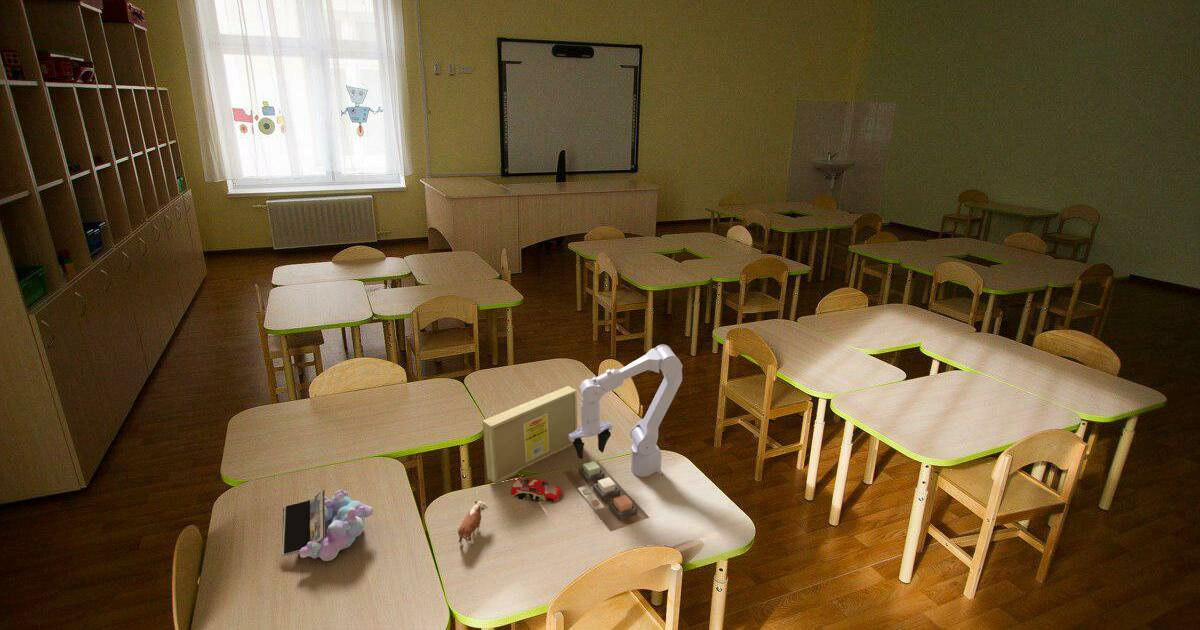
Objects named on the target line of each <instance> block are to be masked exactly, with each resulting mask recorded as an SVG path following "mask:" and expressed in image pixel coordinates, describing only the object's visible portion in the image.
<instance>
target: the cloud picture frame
mask: <svg viewBox="0 0 1200 630" xmlns="http://www.w3.org/2000/svg"><path fill="white" fill-rule="evenodd" d="M325 490H326V489H325V487H324V488H322V489H321V490H320V491H317V493H316V494H314V495H313V496H312V497H311V498H310V499H308V500H304V501H300V502H296V503H291V504H287V505H283V506H282V507H281V508H282V509H281V544H280V545H281V550H280V551H281V552H280V553H281V554H280V555H281V556H280V557H281V558H285V557H289V556H293V555H297V554H299V556H300V558H303V559H304V558H308V557H311V558H312V559H317V558H320V559H321V560H322V561H324V562H328V561H329V562H330V561H333V559H335V558H336V557H337V556H338V554H339V552H340V551H342V550H344V549H347V548H350V547H351V545H352V544H353V543H354V541H355V540H356V538H357V537H359V536H360V535H361V534H362V533H363V531H364V530H365V525H366V523H365V521H366V520H365V519H366V518H369V517H370V516H372V515H373V513H374V508H373V507H372V505H371V506H370V505H367V504H365V503H362V502H360V501H359V500H353V499H351V497H349V496H348V495H349V494H348V492H347V491H345V490H343V489H338V490H336V491H335V492H334V493H335V494H334V495H333V496H332V497H331V499H329V497H327V496H326V494H325V493H326V491H325Z"/></svg>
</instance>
